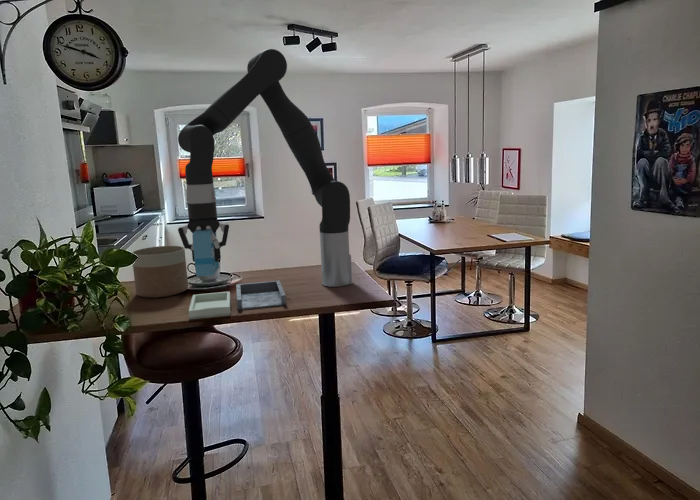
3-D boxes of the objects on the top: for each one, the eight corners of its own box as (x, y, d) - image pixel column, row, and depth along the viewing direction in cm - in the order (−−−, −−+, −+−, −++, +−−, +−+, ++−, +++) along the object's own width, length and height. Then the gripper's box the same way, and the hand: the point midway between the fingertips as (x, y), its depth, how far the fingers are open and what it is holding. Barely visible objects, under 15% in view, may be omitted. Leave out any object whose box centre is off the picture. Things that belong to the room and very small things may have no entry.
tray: (230, 299, 157) (229, 291, 156) (230, 315, 141) (229, 306, 140) (193, 302, 155) (192, 294, 154) (189, 319, 139) (188, 310, 138)
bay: (280, 289, 166) (279, 280, 165) (286, 305, 148) (285, 295, 148) (237, 293, 163) (236, 284, 162) (237, 310, 145) (236, 299, 145)
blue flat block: (213, 276, 140) (209, 232, 138) (195, 277, 140) (191, 233, 138) (219, 266, 152) (215, 225, 150) (203, 267, 152) (199, 226, 149)
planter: (187, 283, 179) (183, 244, 176) (190, 294, 164) (185, 251, 161) (137, 289, 173) (132, 248, 171) (135, 301, 159) (130, 257, 156)
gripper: (228, 198, 147) (233, 257, 151) (175, 201, 144) (181, 261, 148) (228, 200, 140) (233, 262, 143) (172, 203, 137) (178, 267, 140)
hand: (207, 261), depth 145 cm, fingers closed on blue flat block, 4 cm apart
